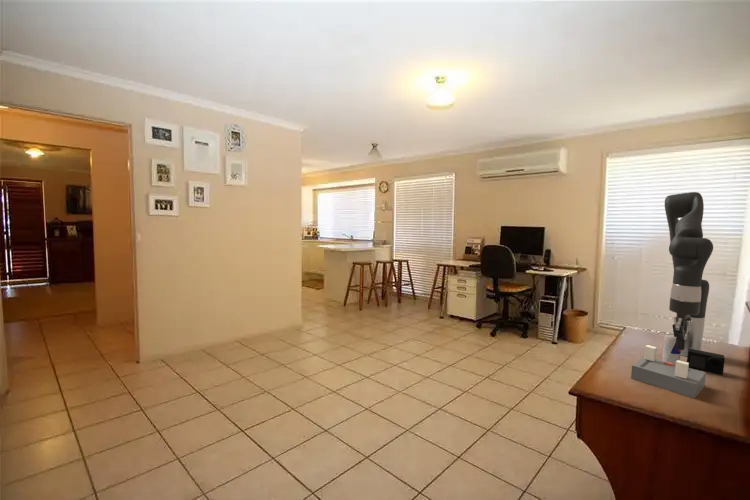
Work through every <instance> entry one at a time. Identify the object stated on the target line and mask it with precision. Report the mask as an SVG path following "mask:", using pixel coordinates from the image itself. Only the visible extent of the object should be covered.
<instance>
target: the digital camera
mask: <svg viewBox="0 0 750 500" xmlns="http://www.w3.org/2000/svg"><path fill="white" fill-rule="evenodd" d="M686 357H687V358H686V362H687V363H689V367H688V368H691V369H694V370H698V371H702V372H706V373H709V374H714V375H720V376H721V377H722V376H724V371H725V370H724V366H725V359H726V358H725V355H724V354H720V353H715V352H710V351H704V350H701V351H700V350H694V349H689V348H688V355H687V356H686Z"/></svg>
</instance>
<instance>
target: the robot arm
mask: <svg viewBox="0 0 750 500" xmlns="http://www.w3.org/2000/svg"><path fill="white" fill-rule="evenodd" d="M703 198H704V197H703V196H702V194H701V192H697V191H689V192H682V193H677V194H675V193H674V194H669V195H667V196H666V197H665V199H664V211H665V216H666V220H667V225H668V231H669V239H670V240H669V246H668V251H669V254H670V255H671V258H672V264H673V265H672V266H673V276H672V283H671V284H672V285H671V289H670V295H669V296H670V297H669V305H668V306H669V307H668V309H669V311H670V312H673V313H676V316H673V317H674V318H673V324H672V334H674V337H675V338H676V345H675V348H676V349H679V350H681V353H680V356H681V355H682V356H684V357H687V355H688V348H689V349H694V350H700V351H702V348H703V340H704V339H703V338H704V331H705V330H704V329H705V322H706V320H705V319H706V311H707V305H708V304H707V303H708V298H709V293H710V282H709V281H708V280H706V279H703V275H704V270H705V267H706V265H707V262H708V261H709V260H710V257H711V256H712V254H713V251H714V244H713V242H712V241H711V240H710V239H709V238H705V237H704V233H703V227H702V225H703V224H702V223H703V217H704V210H705V209H704V207H705V206H704V199H703Z"/></svg>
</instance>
